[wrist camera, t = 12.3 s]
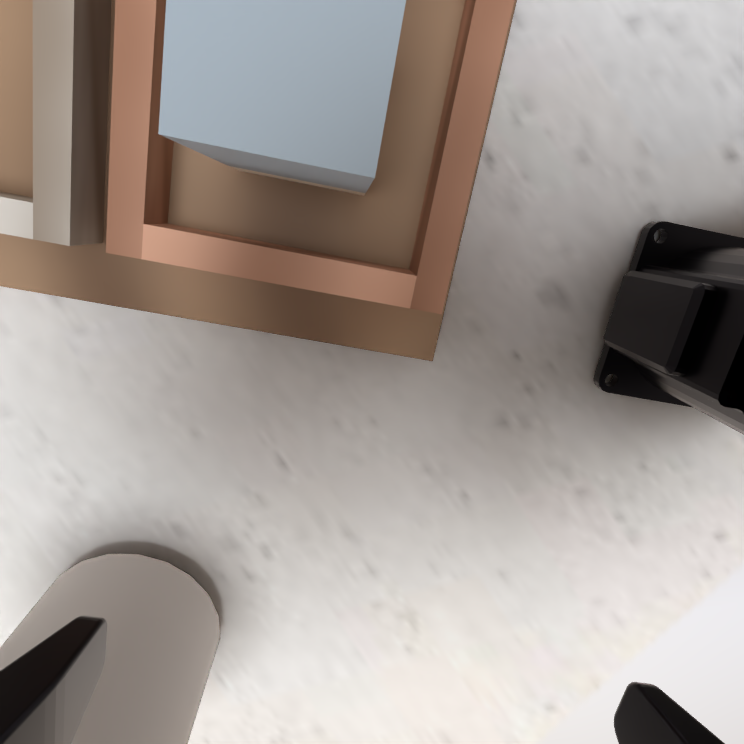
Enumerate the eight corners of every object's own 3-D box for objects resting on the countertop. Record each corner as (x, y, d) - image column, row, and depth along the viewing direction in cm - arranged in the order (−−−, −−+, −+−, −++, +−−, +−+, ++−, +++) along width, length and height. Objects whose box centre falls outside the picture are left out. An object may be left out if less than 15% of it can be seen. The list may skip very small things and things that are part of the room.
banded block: (387, 57, 15) (418, -75, 8) (363, 195, 16) (375, 177, 9) (253, 26, 15) (174, -137, 8) (239, 170, 16) (158, 133, 9)
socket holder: (524, -83, 15) (573, -166, 12) (426, 350, 19) (442, 377, 16) (-263, -294, 13) (-469, -467, 10) (-195, 241, 17) (-327, 246, 14)
